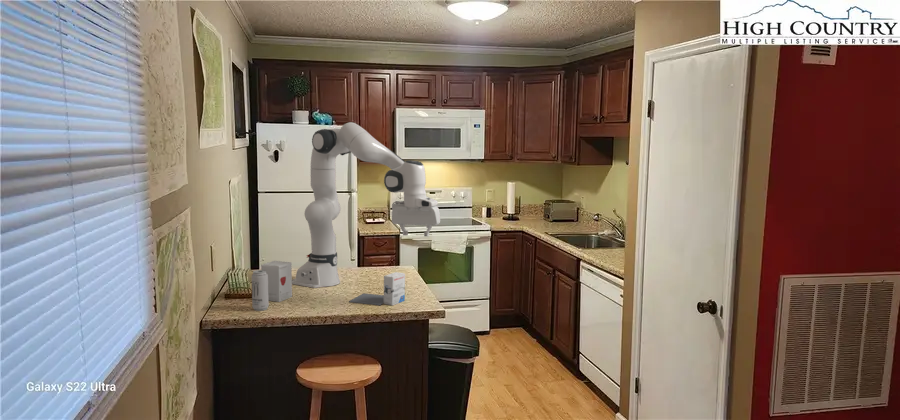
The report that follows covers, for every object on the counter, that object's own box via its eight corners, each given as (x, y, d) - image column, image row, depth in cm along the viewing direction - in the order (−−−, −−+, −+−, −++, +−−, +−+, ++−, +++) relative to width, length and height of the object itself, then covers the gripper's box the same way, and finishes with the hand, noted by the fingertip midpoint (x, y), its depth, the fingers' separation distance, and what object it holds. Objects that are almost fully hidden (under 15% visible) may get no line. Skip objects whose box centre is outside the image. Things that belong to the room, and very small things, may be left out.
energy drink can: (249, 310, 223) (247, 272, 221) (260, 306, 228) (258, 269, 226) (261, 312, 220) (260, 273, 218) (272, 308, 226) (271, 270, 224)
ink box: (395, 299, 240) (395, 271, 238) (405, 300, 237) (405, 273, 236) (383, 303, 233) (382, 275, 231) (392, 305, 230) (392, 277, 229)
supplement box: (279, 302, 233) (278, 266, 232) (261, 300, 236) (260, 264, 235) (293, 296, 242) (292, 261, 240) (275, 294, 245) (274, 260, 243)
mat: (349, 302, 235) (348, 301, 235) (363, 294, 247) (363, 293, 247) (380, 305, 230) (380, 304, 230) (393, 297, 242) (393, 296, 242)
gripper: (388, 201, 229) (389, 235, 231) (435, 202, 222) (435, 238, 224) (395, 200, 235) (396, 233, 237) (441, 201, 228) (442, 235, 229)
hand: (416, 235), depth 230 cm, fingers open, 8 cm apart
